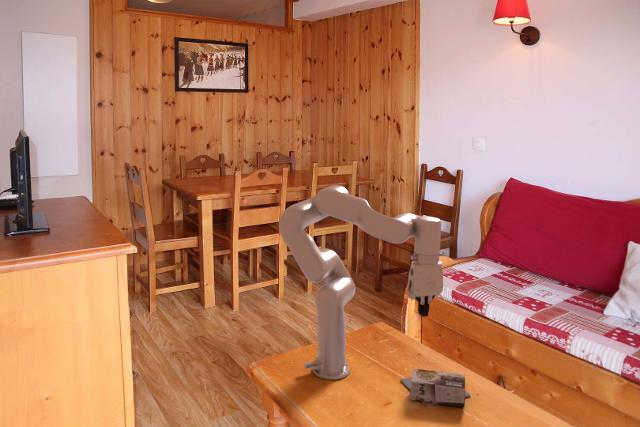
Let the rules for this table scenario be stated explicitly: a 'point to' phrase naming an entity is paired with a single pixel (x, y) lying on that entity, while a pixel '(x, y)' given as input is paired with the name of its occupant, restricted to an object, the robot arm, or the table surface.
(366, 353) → the table surface
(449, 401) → the coffee box
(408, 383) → the mat
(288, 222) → the robot arm
